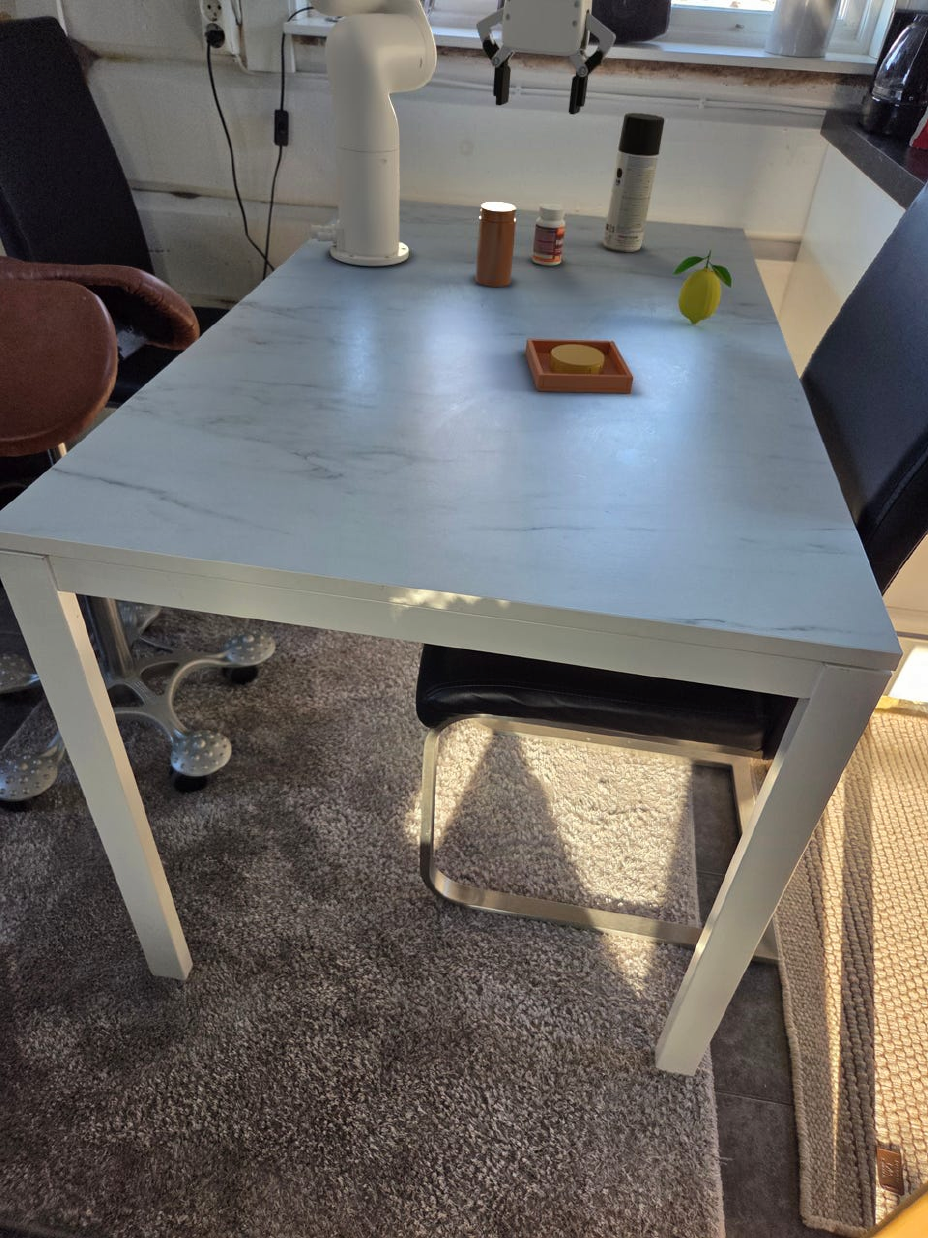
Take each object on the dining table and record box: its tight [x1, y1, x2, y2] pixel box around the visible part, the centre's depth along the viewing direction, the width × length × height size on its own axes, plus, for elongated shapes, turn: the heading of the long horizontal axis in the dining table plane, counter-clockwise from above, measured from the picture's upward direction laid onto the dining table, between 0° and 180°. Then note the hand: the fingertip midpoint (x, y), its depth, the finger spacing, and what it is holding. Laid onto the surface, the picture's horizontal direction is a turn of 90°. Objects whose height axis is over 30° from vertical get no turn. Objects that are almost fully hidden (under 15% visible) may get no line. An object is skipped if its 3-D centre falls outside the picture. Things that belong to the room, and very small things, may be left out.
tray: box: [524, 338, 634, 394], centre depth 101 cm, size 11×11×2 cm
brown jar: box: [475, 201, 517, 288], centre depth 124 cm, size 5×5×11 cm
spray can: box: [603, 112, 665, 253], centre depth 139 cm, size 7×7×20 cm
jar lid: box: [549, 344, 605, 375], centre depth 101 cm, size 6×6×2 cm
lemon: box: [672, 249, 732, 325], centre depth 114 cm, size 7×6×10 cm
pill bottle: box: [531, 203, 566, 267], centre depth 134 cm, size 5×5×8 cm
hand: (537, 108), depth 105 cm, fingers open, 9 cm apart
